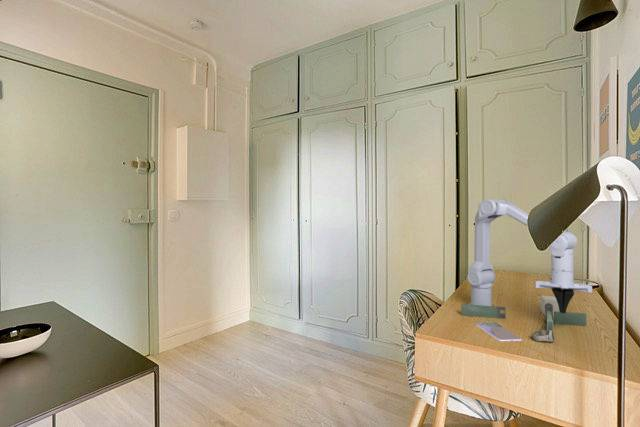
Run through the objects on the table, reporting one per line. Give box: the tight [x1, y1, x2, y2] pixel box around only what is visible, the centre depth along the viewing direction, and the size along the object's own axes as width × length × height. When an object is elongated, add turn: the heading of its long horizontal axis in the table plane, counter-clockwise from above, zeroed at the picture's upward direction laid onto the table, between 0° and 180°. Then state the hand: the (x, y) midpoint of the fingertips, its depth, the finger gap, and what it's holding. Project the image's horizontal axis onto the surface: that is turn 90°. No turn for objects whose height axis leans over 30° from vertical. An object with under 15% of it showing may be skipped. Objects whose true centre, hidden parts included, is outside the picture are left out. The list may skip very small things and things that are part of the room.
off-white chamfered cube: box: [540, 295, 560, 317], centre depth 121 cm, size 6×6×6 cm
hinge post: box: [544, 303, 587, 327], centre depth 110 cm, size 2×12×7 cm, turn 74°
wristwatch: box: [531, 329, 555, 343], centre depth 97 cm, size 4×6×5 cm
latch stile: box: [460, 303, 507, 320], centre depth 119 cm, size 1×15×4 cm, turn 74°
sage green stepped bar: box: [546, 311, 554, 333], centre depth 105 cm, size 12×2×4 cm, turn 146°
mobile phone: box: [475, 321, 523, 342], centre depth 104 cm, size 8×1×15 cm
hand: (562, 312), depth 103 cm, fingers closed
